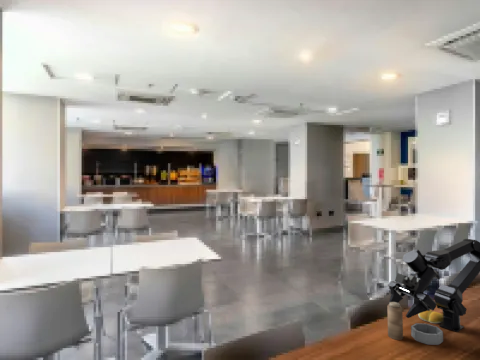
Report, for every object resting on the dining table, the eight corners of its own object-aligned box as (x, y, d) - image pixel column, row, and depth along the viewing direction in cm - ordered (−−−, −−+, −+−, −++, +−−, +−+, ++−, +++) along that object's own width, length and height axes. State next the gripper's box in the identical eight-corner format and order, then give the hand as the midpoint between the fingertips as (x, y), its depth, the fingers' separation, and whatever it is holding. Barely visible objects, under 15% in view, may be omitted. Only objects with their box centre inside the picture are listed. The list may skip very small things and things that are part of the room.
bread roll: (440, 326, 129) (440, 316, 129) (416, 319, 136) (416, 309, 136) (447, 320, 135) (447, 310, 135) (424, 314, 142) (423, 304, 142)
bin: (419, 330, 126) (419, 321, 126) (446, 339, 118) (446, 329, 118) (407, 337, 120) (407, 328, 120) (435, 347, 112) (435, 337, 113)
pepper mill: (396, 332, 124) (395, 300, 124) (406, 338, 119) (405, 305, 119) (385, 334, 123) (384, 302, 123) (394, 340, 118) (393, 306, 118)
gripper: (391, 260, 132) (367, 290, 129) (428, 272, 114) (402, 307, 111) (407, 278, 134) (385, 308, 131) (447, 292, 116) (422, 328, 113)
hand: (397, 312), depth 121 cm, fingers open, 9 cm apart
